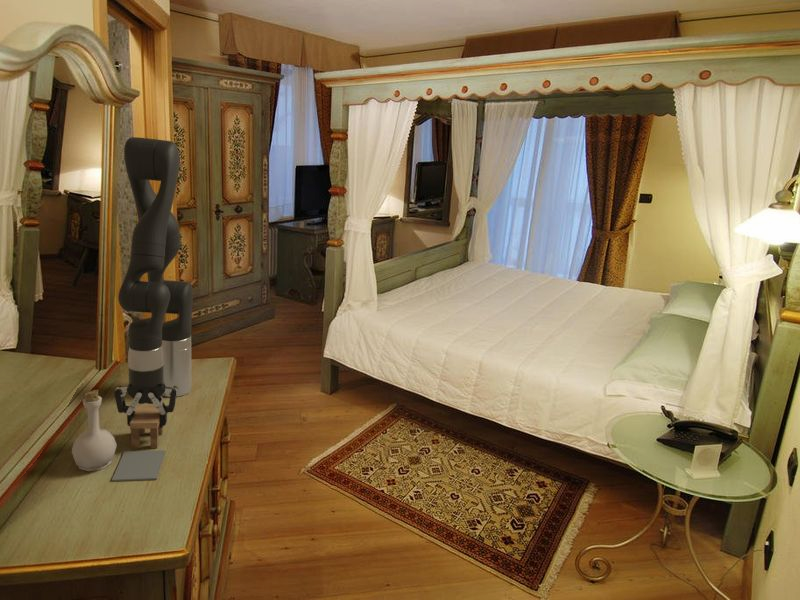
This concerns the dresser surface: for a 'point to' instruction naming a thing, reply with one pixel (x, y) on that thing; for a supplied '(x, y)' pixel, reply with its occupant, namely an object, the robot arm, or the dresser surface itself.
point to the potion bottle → (93, 439)
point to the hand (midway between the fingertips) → (147, 426)
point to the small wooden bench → (145, 426)
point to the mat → (139, 465)
